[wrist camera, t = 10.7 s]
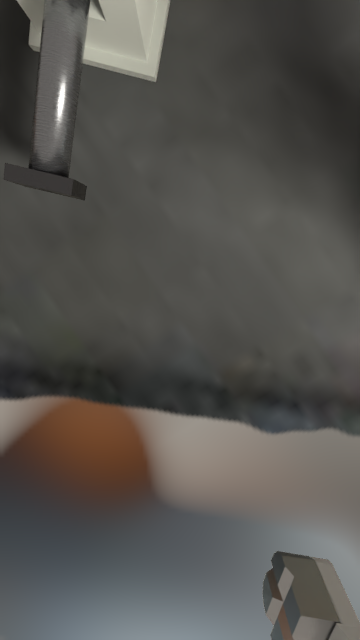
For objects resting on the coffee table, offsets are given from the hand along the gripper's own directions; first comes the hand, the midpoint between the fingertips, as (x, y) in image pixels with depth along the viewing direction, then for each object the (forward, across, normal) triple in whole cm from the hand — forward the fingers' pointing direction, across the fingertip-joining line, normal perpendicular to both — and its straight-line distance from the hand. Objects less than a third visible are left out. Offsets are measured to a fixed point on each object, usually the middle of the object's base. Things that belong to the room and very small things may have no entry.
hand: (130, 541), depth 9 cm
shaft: (+23, +12, -19) cm, 32 cm away
